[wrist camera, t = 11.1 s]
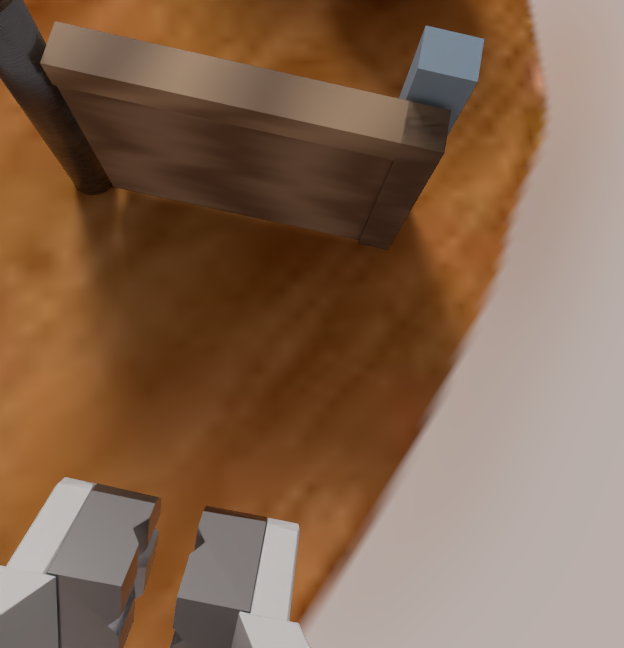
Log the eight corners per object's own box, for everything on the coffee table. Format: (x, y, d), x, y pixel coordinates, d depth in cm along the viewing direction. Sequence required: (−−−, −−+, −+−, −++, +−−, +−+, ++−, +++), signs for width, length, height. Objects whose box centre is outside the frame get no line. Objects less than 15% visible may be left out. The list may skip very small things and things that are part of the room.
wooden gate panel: (112, 190, 34) (40, 63, 23) (122, 159, 35) (54, 21, 24) (387, 249, 35) (444, 153, 24) (393, 219, 35) (450, 110, 24)
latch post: (361, 213, 36) (417, 68, 23) (366, 184, 37) (425, 25, 23) (398, 222, 36) (477, 81, 23) (403, 193, 37) (484, 39, 23)
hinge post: (59, 194, 35) (-101, -10, 20) (75, 147, 36) (-67, -85, 21) (112, 206, 35) (-6, 12, 20) (126, 158, 36) (23, -64, 21)
